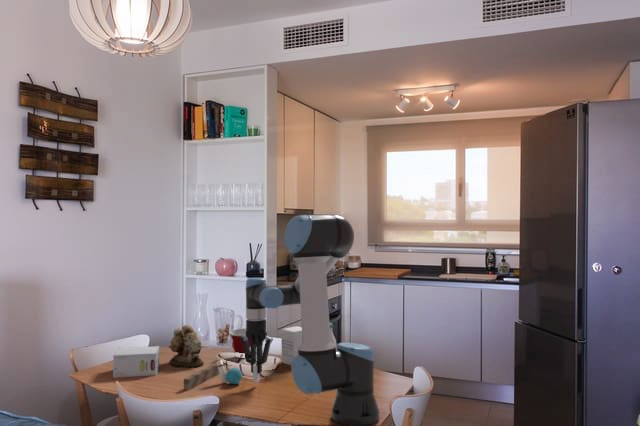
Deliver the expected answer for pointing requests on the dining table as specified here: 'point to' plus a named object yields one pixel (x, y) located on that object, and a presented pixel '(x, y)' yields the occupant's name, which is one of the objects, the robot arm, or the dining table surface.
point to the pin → (222, 371)
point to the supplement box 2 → (290, 343)
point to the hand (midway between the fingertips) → (256, 381)
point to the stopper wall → (200, 377)
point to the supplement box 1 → (136, 361)
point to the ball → (234, 376)
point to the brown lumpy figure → (186, 348)
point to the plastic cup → (238, 339)
